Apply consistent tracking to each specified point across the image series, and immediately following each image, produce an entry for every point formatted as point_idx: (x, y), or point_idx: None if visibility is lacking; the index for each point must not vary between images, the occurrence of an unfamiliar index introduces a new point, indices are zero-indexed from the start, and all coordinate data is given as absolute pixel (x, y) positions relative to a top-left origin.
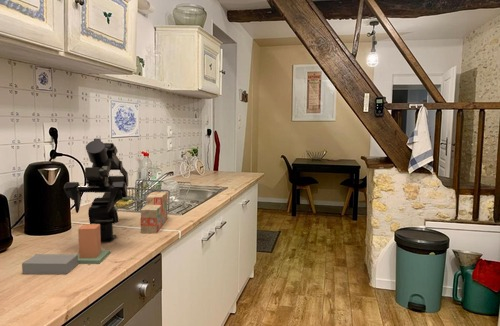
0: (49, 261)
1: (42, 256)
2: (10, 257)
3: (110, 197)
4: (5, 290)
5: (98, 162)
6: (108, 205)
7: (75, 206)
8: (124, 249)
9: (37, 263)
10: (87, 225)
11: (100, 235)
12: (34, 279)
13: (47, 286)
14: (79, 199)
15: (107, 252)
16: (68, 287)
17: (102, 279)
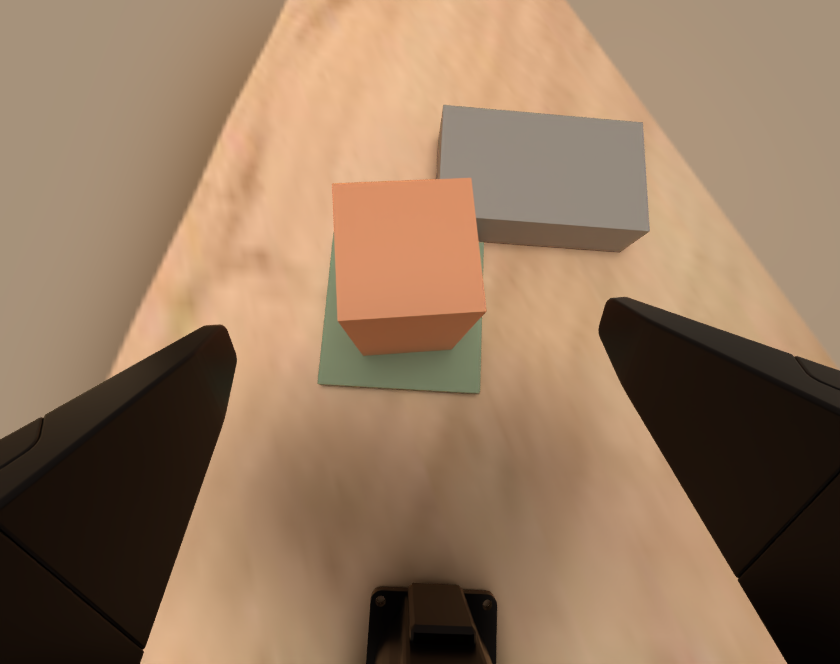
0: (533, 134)
1: (601, 197)
2: (791, 341)
3: (14, 473)
4: (586, 33)
5: None
6: (168, 361)
7: (683, 318)
8: (253, 442)
9: (574, 116)
10: (436, 276)
11: (351, 338)
12: (539, 105)
13: (461, 48)
14: (800, 553)
15: (323, 342)
16: (383, 34)
17: (277, 85)
